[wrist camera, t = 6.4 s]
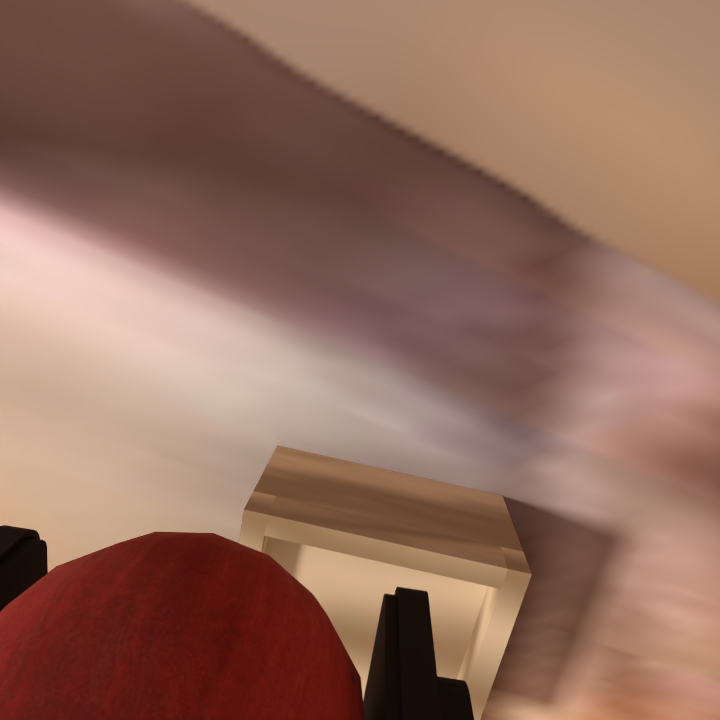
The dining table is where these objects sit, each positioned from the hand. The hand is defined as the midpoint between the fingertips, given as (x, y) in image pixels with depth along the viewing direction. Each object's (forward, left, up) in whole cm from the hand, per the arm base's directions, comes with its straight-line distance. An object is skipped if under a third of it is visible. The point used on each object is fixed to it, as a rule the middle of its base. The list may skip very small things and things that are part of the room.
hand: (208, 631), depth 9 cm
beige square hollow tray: (+11, +3, -18) cm, 21 cm away
